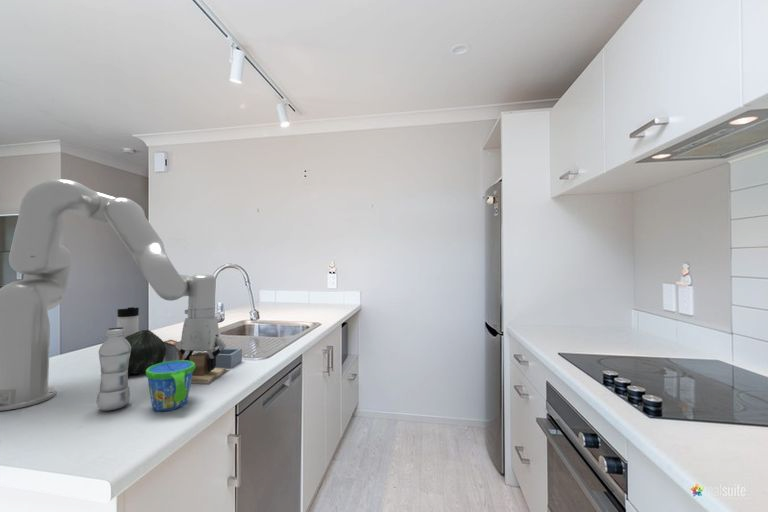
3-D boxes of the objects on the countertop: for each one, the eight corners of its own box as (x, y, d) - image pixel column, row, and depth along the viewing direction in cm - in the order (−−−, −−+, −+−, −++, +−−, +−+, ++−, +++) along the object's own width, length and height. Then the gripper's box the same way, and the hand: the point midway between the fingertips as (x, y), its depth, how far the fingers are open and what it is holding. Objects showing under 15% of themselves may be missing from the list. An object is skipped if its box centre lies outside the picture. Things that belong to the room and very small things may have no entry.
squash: (109, 353, 110) (112, 324, 103) (162, 347, 120) (168, 321, 113) (107, 390, 102) (110, 362, 95) (164, 381, 111) (171, 355, 104)
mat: (208, 385, 96) (209, 384, 97) (165, 385, 97) (166, 383, 97) (230, 371, 110) (230, 370, 110) (192, 370, 110) (192, 369, 110)
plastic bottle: (102, 416, 77) (105, 332, 77) (92, 409, 80) (94, 328, 81) (134, 406, 82) (136, 327, 83) (123, 400, 86) (125, 324, 86)
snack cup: (200, 410, 81) (201, 369, 81) (149, 424, 74) (150, 379, 74) (186, 391, 92) (187, 355, 93) (141, 401, 85) (142, 362, 85)
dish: (231, 369, 111) (231, 355, 111) (208, 369, 111) (208, 354, 111) (241, 362, 119) (241, 348, 119) (220, 362, 119) (220, 348, 119)
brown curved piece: (188, 367, 113) (188, 343, 113) (178, 370, 110) (179, 345, 110) (167, 360, 121) (167, 337, 121) (157, 362, 118) (158, 339, 118)
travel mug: (118, 365, 114) (120, 308, 115) (113, 361, 118) (115, 306, 119) (140, 361, 119) (141, 306, 120) (134, 357, 123) (135, 305, 124)
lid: (207, 383, 98) (208, 359, 98) (171, 382, 98) (172, 359, 98) (225, 370, 109) (226, 350, 109) (193, 370, 109) (194, 349, 109)
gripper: (166, 315, 100) (165, 373, 100) (222, 315, 100) (221, 374, 99) (182, 311, 107) (181, 365, 107) (234, 312, 107) (232, 366, 107)
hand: (200, 369), depth 103 cm, fingers open, 6 cm apart
